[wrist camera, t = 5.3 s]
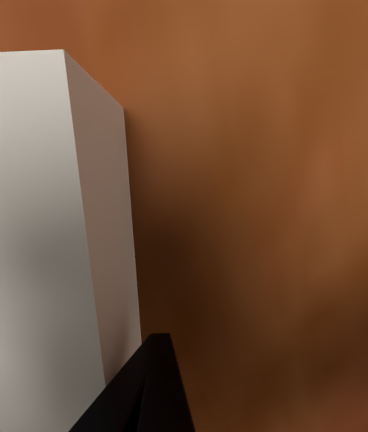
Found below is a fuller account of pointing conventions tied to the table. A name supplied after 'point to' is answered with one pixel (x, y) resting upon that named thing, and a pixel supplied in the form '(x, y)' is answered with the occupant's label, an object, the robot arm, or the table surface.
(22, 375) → the white rectangular block
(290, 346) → the table surface
